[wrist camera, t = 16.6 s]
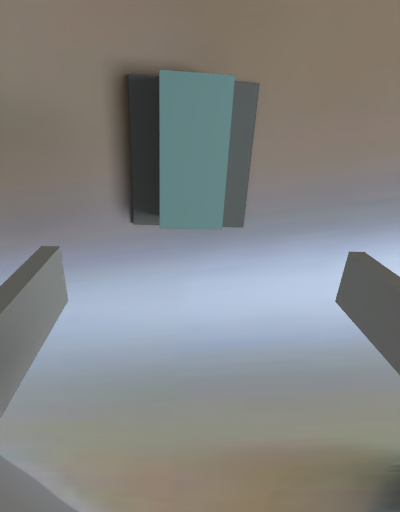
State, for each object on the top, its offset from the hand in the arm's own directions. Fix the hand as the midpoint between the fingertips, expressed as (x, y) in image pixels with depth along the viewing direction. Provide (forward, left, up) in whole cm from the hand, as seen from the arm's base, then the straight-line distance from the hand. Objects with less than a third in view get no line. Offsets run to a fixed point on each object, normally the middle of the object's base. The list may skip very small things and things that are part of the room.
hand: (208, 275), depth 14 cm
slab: (-4, 0, -19) cm, 20 cm away
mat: (-3, 0, -20) cm, 20 cm away
